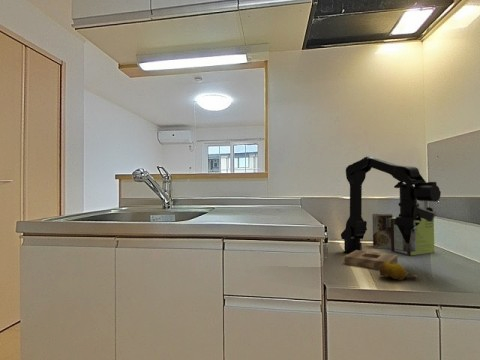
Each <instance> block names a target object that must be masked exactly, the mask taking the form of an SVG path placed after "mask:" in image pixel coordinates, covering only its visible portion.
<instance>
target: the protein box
mask: <svg viewBox="0 0 480 360" xmlns="http://www.w3.org/2000/svg"><path fill="white" fill-rule="evenodd" d="M396 217H397V216H395V217H393V218H391V249H390V251H391V252H394V253H398V254H403V255H405V256H407V255H408V256H417V255H424V254H431V253H435V221H434V220H435V218H434V219H433V221H432V222H430V221H427V220H426V219H423V218H422V221H419V220H416V222H420V224H419V225H417V226H416V252H407V251H403V243H402V234H401V232H400V230H399V228H398V226H397V225H394V219H395V218H396Z"/></svg>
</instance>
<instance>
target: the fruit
mask: <svg viewBox="0 0 480 360" xmlns="http://www.w3.org/2000/svg"><path fill="white" fill-rule="evenodd" d="M379 275H380V277H381V276H383V277H385V276H388V277H391V278H392V280H398V281H399V280H400V281H402V280H404V279H406V276H407V275H408V276H410V277H412V278H413V279H415V278H417V277H418V276H417V274H415V273H411V272H408V271H406V270H405V268H404V267H403V266H402V265H401V264H399V263H397V264H395V263H393V262H384V263H383V264H382V265H381V267H380V269H379Z"/></svg>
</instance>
